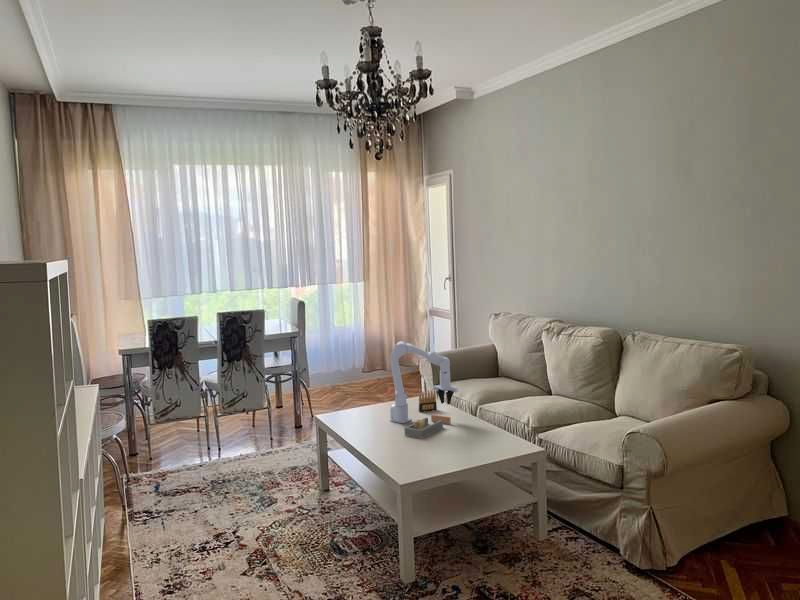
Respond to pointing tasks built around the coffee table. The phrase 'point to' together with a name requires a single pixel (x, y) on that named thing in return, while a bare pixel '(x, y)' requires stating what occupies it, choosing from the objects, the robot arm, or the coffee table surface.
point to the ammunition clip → (427, 402)
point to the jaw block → (419, 424)
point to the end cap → (441, 418)
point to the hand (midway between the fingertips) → (445, 403)
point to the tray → (424, 432)
